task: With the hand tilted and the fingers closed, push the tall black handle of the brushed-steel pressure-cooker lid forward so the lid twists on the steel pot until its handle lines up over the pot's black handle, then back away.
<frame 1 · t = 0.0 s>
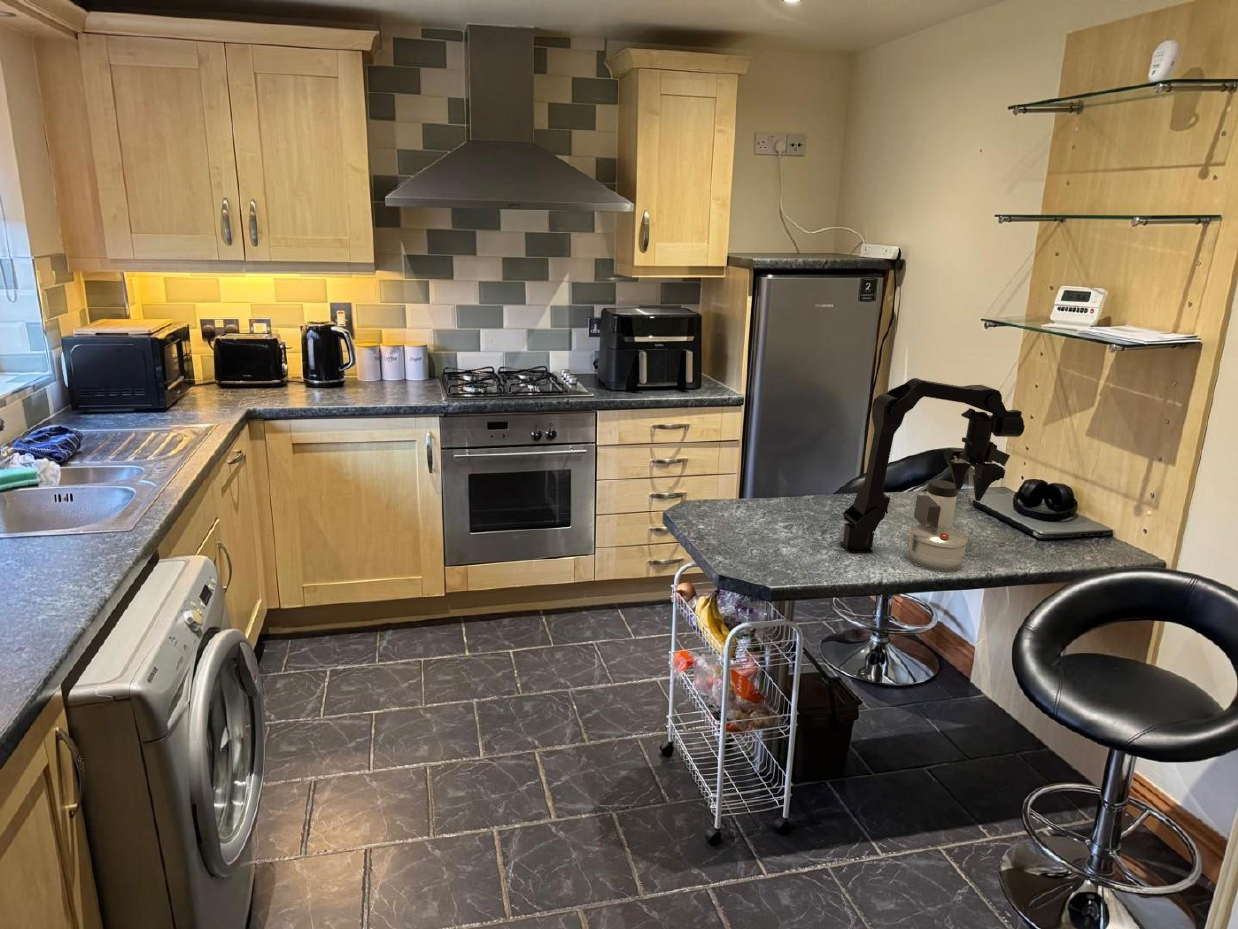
hand: (967, 495, 215), 15 cm above the worktop, tool pointing down, fingers open, 9 cm apart
cooker lid: (934, 520, 211), point 9 cm above the worktop, hinge at 0.0°
cooker pot: (934, 561, 209), on the worktop
jar: (936, 525, 237), on the worktop
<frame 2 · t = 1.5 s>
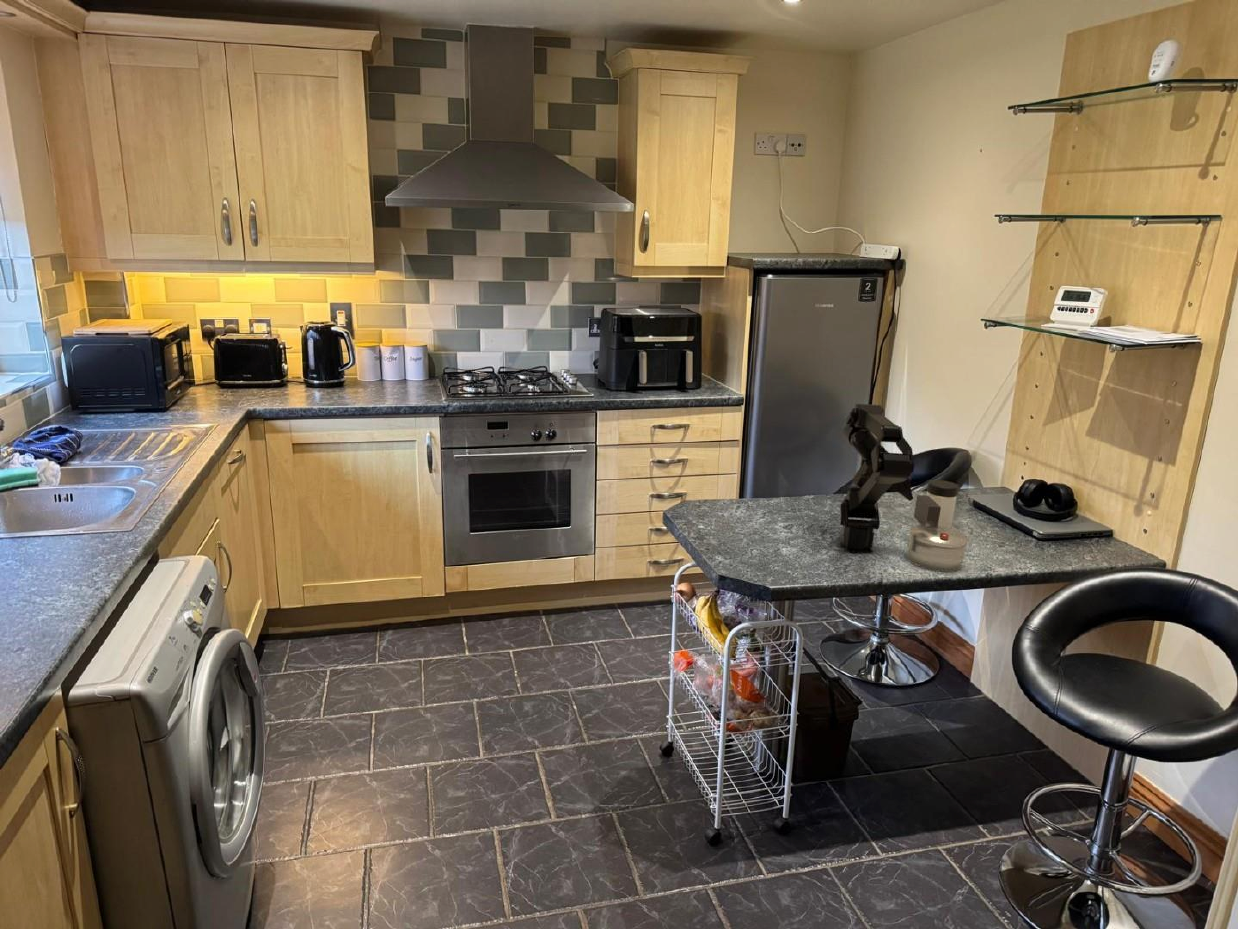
hand: (906, 493, 217), 14 cm above the worktop, tool tilted 45°, fingers open, 8 cm apart
nothing on the worktop moved.
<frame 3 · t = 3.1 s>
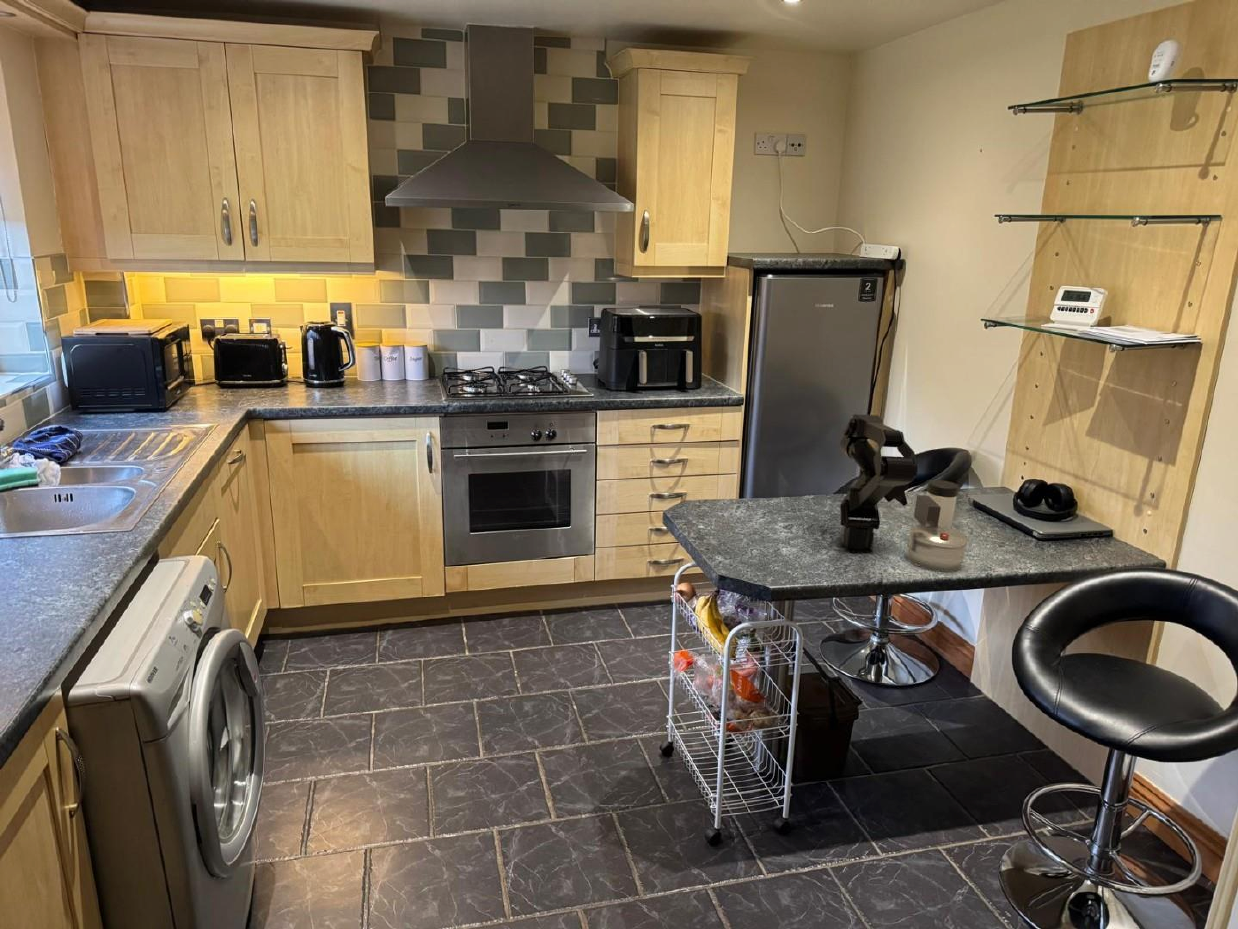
hand: (905, 504, 217), 11 cm above the worktop, tool tilted 45°, fingers closed
nothing on the worktop moved.
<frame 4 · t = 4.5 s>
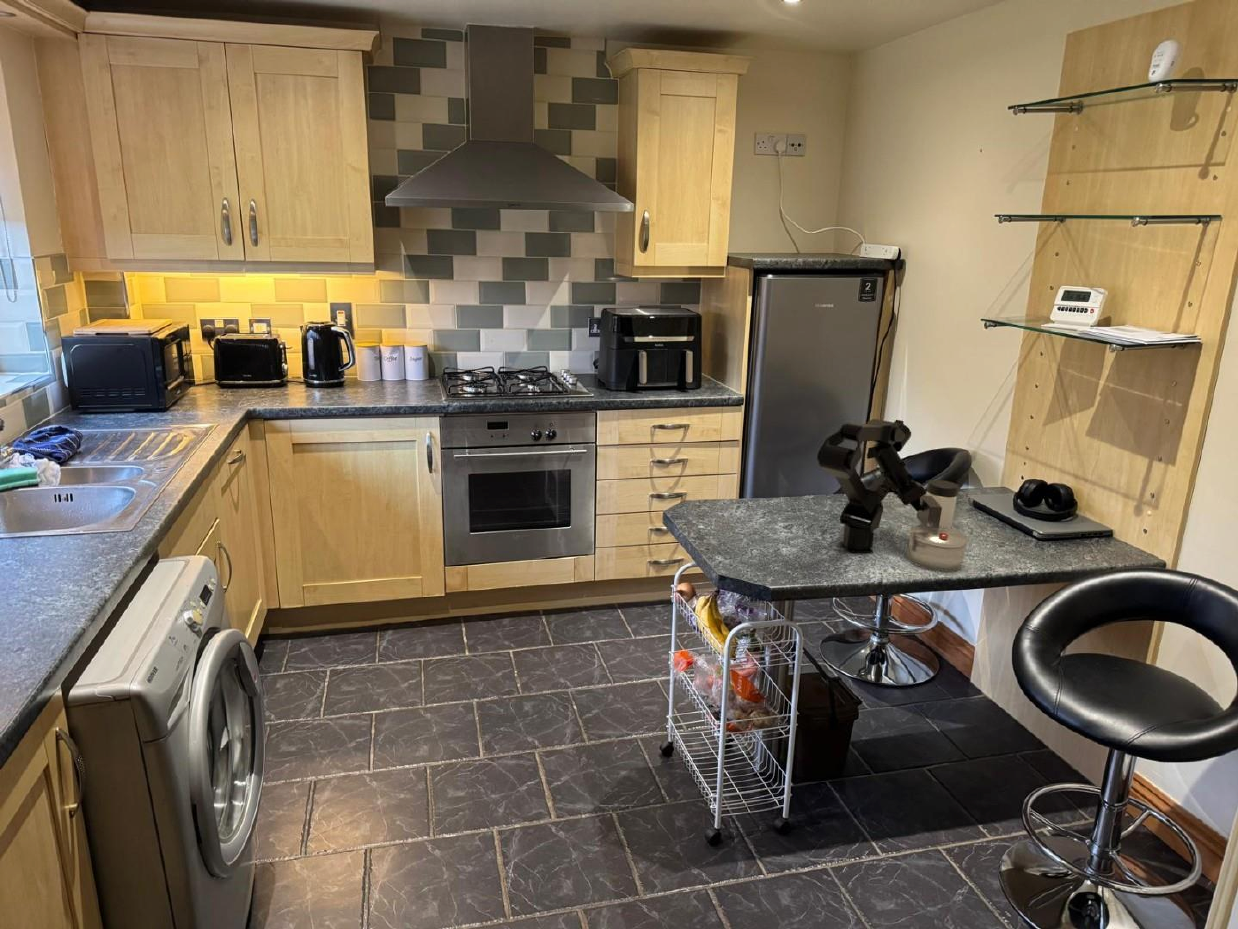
hand: (918, 510, 219), 9 cm above the worktop, tool tilted 35°, fingers closed, pressing on cooker lid
cooker lid: (935, 520, 211), point 9 cm above the worktop, hinge at -3.1°, touching gripper
everything else where it was.
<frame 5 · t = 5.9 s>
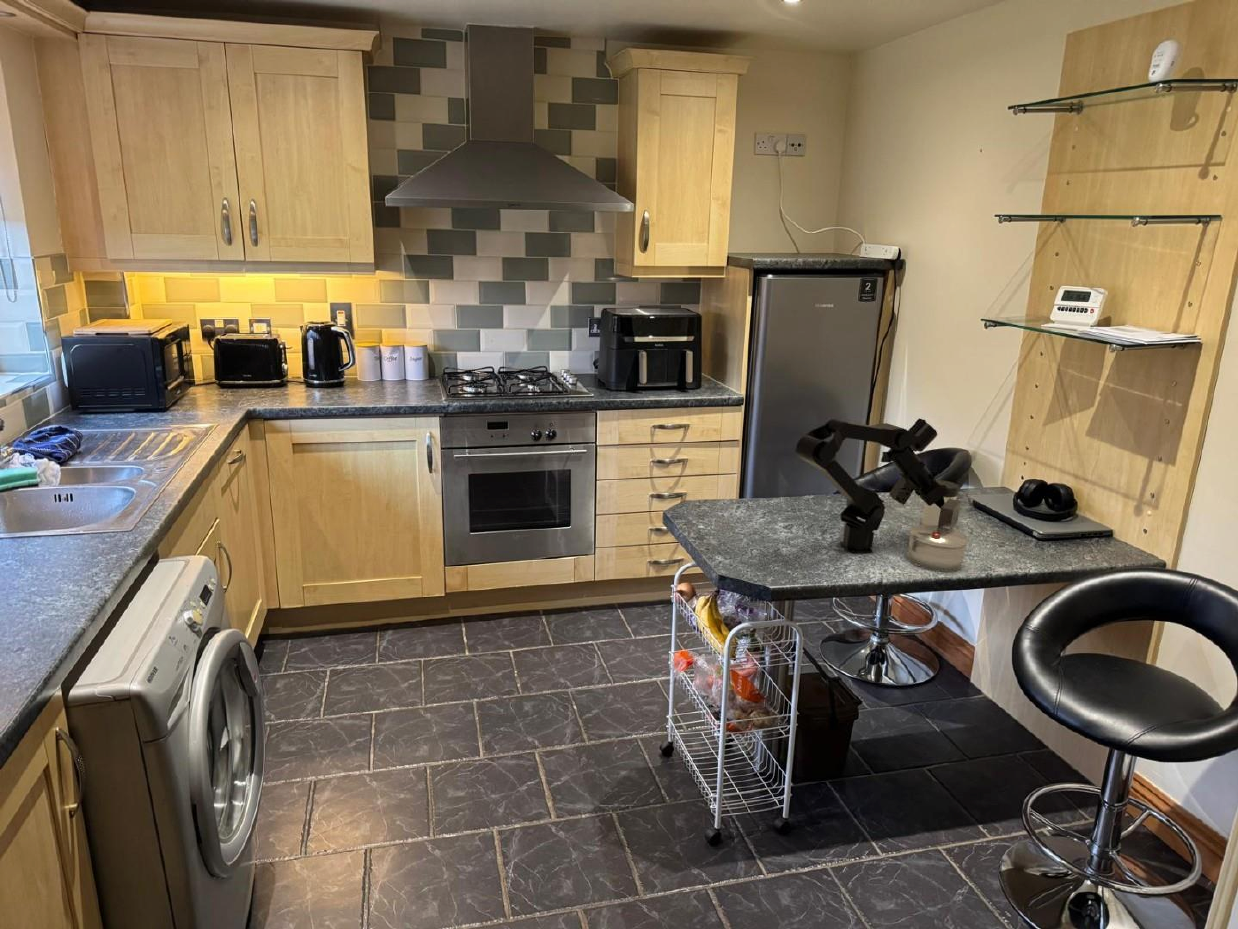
hand: (943, 508, 217), 10 cm above the worktop, tool tilted 45°, fingers closed
cooker lid: (943, 521, 210), point 9 cm above the worktop, hinge at -30.8°, touching gripper
everything else where it was.
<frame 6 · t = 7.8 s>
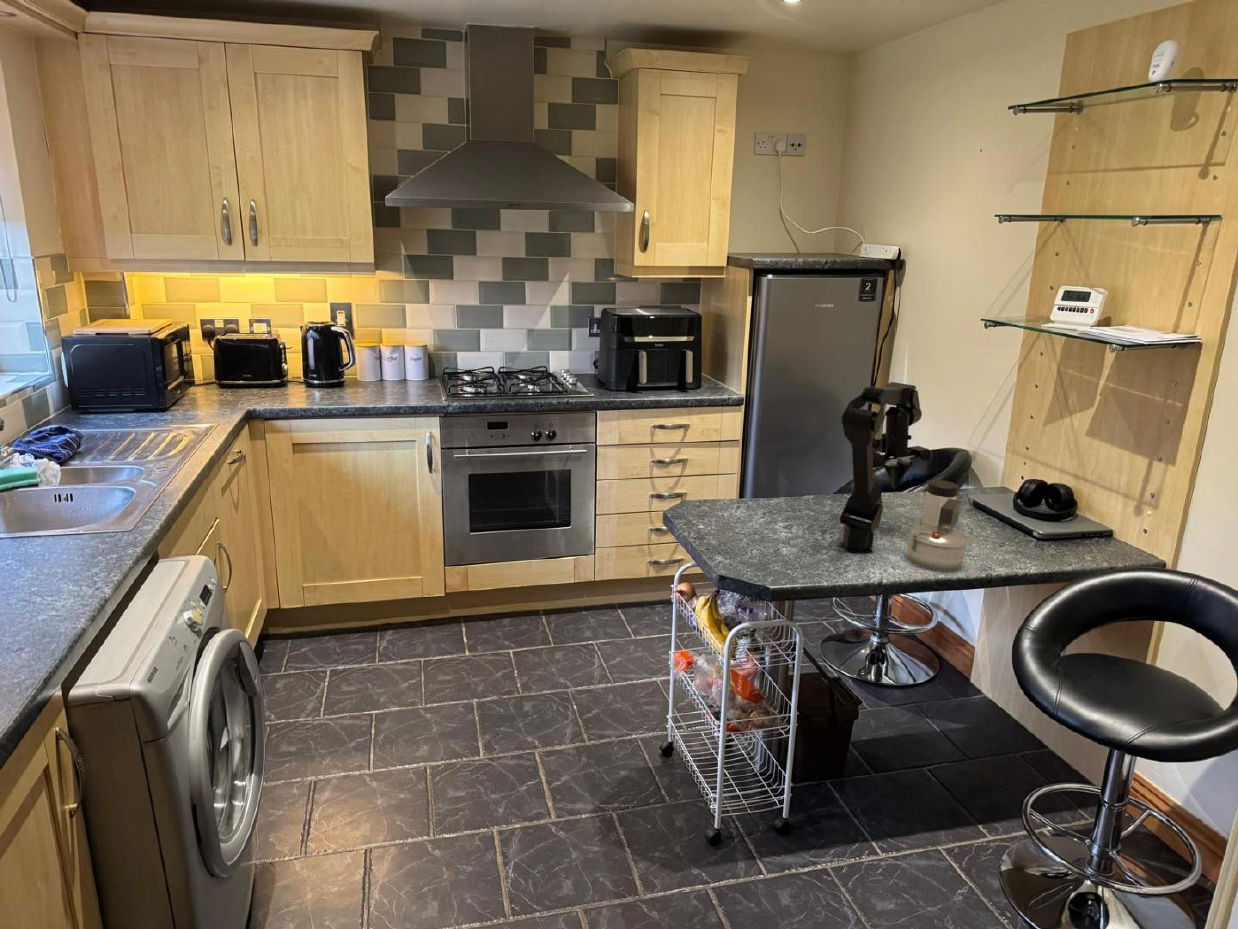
hand: (894, 488, 223), 13 cm above the worktop, tool pointing down, fingers closed
cooker lid: (944, 521, 210), point 9 cm above the worktop, hinge at -30.9°
everything else where it was.
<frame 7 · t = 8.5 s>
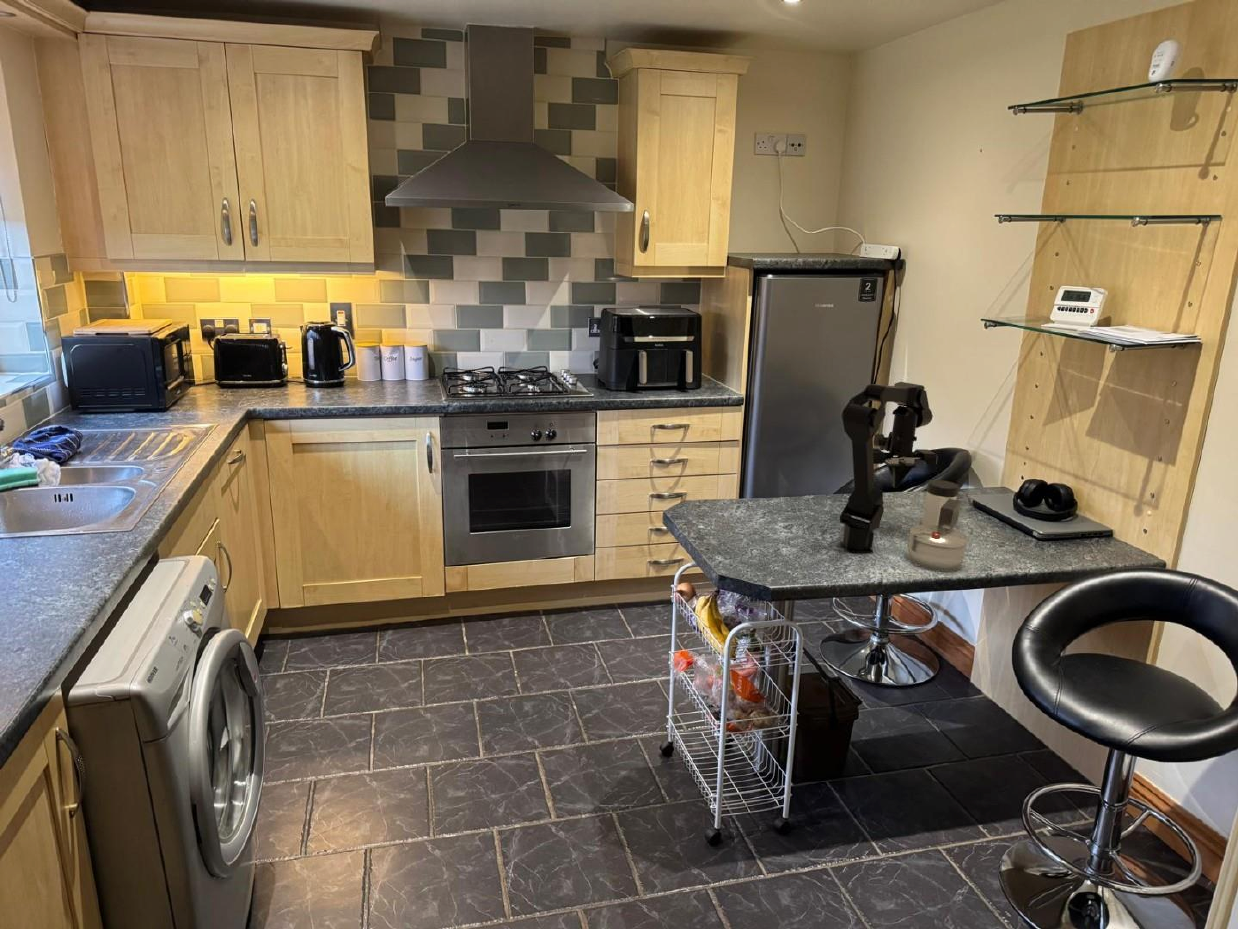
hand: (895, 487, 224), 13 cm above the worktop, tool pointing down, fingers closed
nothing on the worktop moved.
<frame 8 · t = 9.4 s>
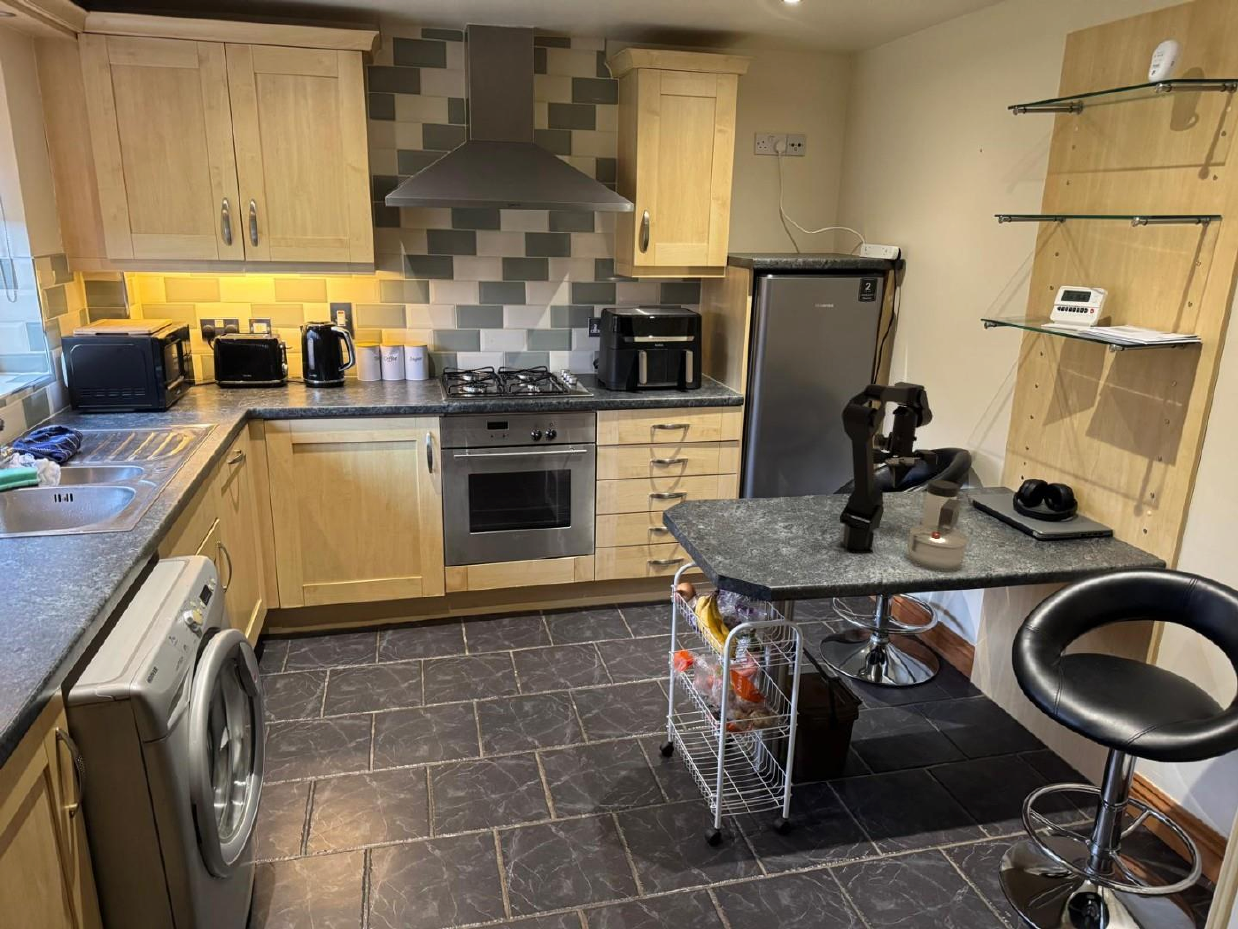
hand: (895, 487, 224), 13 cm above the worktop, tool pointing down, fingers closed
nothing on the worktop moved.
at the end: cooker lid at -31° (first picture: +0°); jar moved 0.2 cm from its start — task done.
